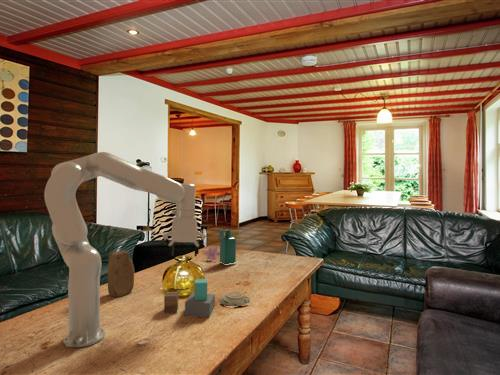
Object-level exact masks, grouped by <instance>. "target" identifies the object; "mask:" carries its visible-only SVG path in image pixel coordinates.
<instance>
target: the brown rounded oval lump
mask: <svg viewBox="0 0 500 375" xmlns="http://www.w3.org/2000/svg"><path fill="white" fill-rule="evenodd" d="M130 255H131V254H130V251H128V250H124V249H123V250H117V251H114V252H110V253H109V255H108V264H107V290H108V292H107V293H108V294H109V295H110V296H111V297H115V298H116V297H124V296H127V294H130V293H131V292H132V291H133V288H134V287H135V267H134V264H133V261H132V259H131V258H130Z"/></svg>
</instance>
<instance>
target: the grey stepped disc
mask: <svg viewBox="0 0 500 375" xmlns="http://www.w3.org/2000/svg"><path fill="white" fill-rule="evenodd" d="M250 299H251V298H250V296H248V295H247V294H245V293H244V292H242V291H229V292H227V293H226V294H223V295H222V297H220V298H219V300H218V303H219V302H220V303H221V304H222V305H221V306H224V305H225V306H242V305H245V304H247V303H249V302H250ZM225 306H224V307H225Z"/></svg>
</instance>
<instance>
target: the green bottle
mask: <svg viewBox="0 0 500 375" xmlns="http://www.w3.org/2000/svg"><path fill="white" fill-rule="evenodd" d="M232 232H233V230H232V229H224V230H223V229H219V230H218V234H219V235H218V236H219V238H220V239H219V253H220V255H219V263H220V262H222V263H224V264H229V263H234V262H236V263H237V261H236V260H237V238H236V237H235V236H232Z"/></svg>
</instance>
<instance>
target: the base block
mask: <svg viewBox="0 0 500 375" xmlns="http://www.w3.org/2000/svg"><path fill="white" fill-rule="evenodd" d="M215 299H216V294H214V293H213V294H212V293H207V300H195V292H194V293H193V292H192V293H191V294H189V296H188V298H187V299H186V300H185V301H184V317H190V316H192V318H194V317H195V318H207V317H210V318H211V316H212V314H211V313H213V312H214V310H215V308H214V307H215V304H216V302H215V301H216V300H215ZM213 309H214V310H213ZM212 311H213V312H212ZM210 315H211V316H210Z"/></svg>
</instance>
